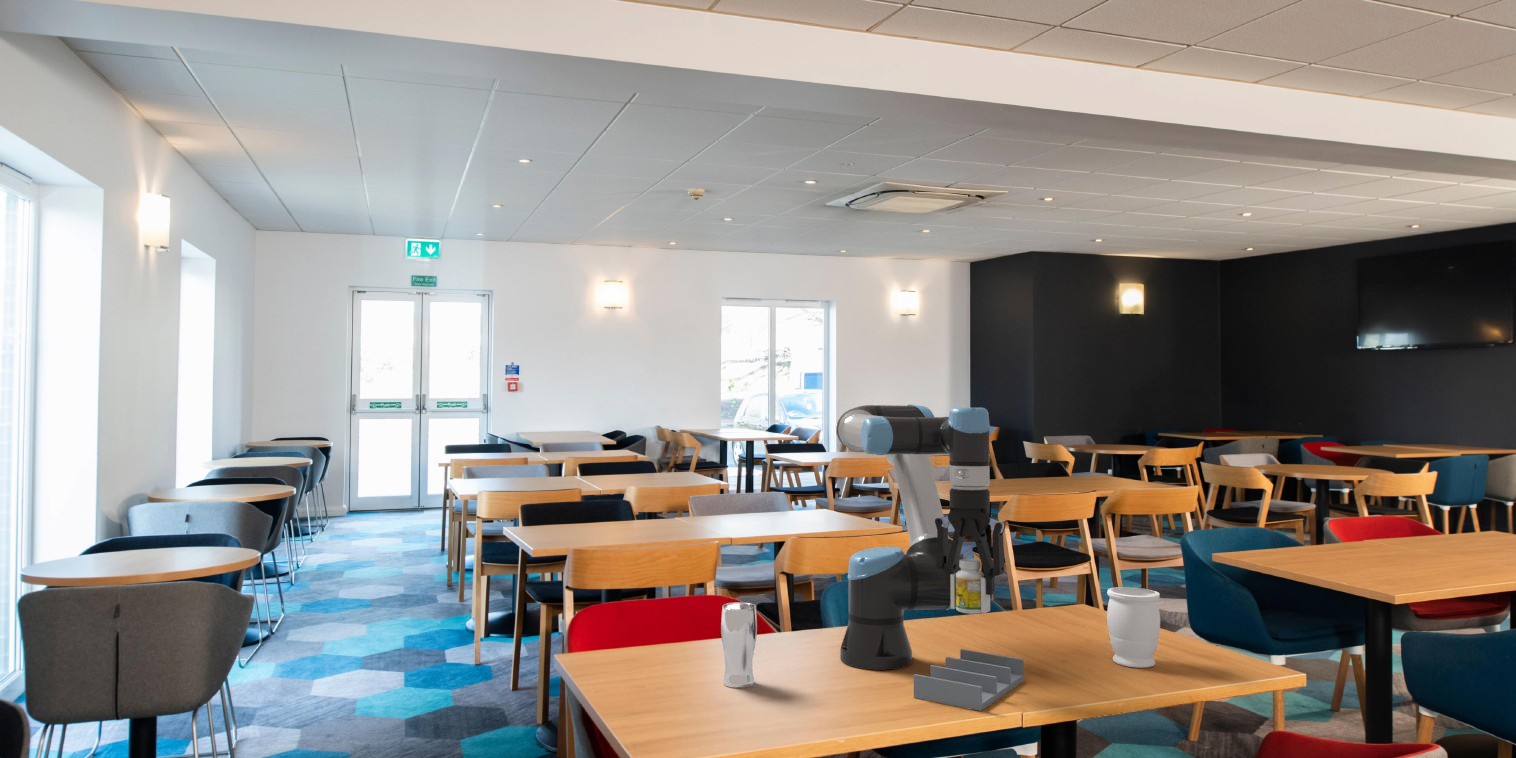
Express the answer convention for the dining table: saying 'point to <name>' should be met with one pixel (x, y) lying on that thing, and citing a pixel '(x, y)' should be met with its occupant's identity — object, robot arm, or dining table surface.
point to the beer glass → (738, 643)
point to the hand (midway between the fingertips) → (970, 609)
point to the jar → (1133, 625)
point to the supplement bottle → (969, 586)
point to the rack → (970, 680)
